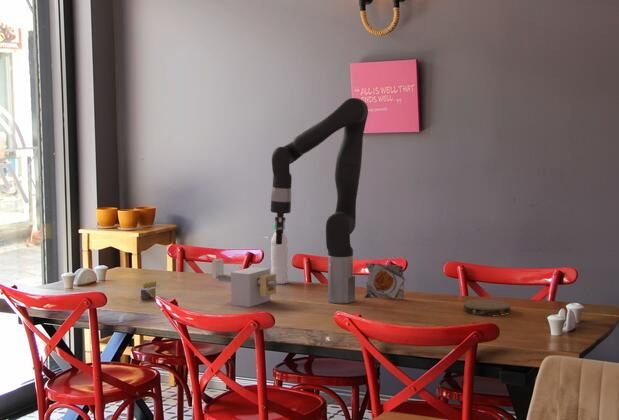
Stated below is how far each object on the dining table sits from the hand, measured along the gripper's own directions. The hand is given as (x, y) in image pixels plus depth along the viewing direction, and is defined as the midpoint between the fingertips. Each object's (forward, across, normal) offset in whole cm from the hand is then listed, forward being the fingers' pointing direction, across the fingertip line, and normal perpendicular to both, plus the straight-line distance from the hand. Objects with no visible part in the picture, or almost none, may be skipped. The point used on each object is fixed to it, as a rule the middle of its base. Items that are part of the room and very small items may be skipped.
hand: (278, 242), depth 306 cm
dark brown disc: (+17, -26, -74) cm, 80 cm away
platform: (+25, +2, +48) cm, 54 cm away
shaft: (+15, -6, +12) cm, 20 cm away
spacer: (+18, -11, +3) cm, 21 cm away
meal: (+19, -2, -41) cm, 45 cm away
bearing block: (+22, -7, +9) cm, 25 cm away
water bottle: (+22, +33, -1) cm, 40 cm away
